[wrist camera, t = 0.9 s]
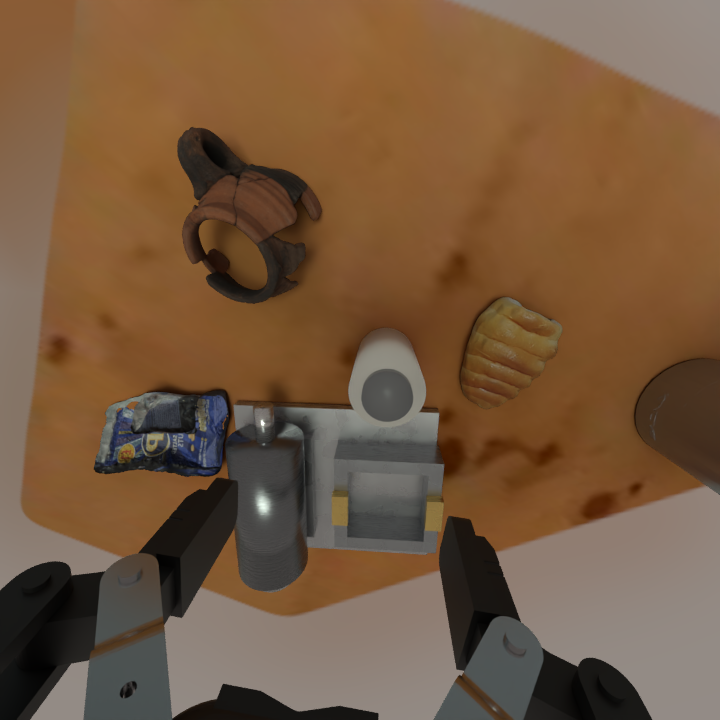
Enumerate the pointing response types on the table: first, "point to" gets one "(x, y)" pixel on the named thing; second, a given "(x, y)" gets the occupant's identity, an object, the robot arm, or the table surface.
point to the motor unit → (329, 486)
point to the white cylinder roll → (386, 379)
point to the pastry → (506, 352)
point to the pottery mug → (242, 212)
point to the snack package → (165, 434)
